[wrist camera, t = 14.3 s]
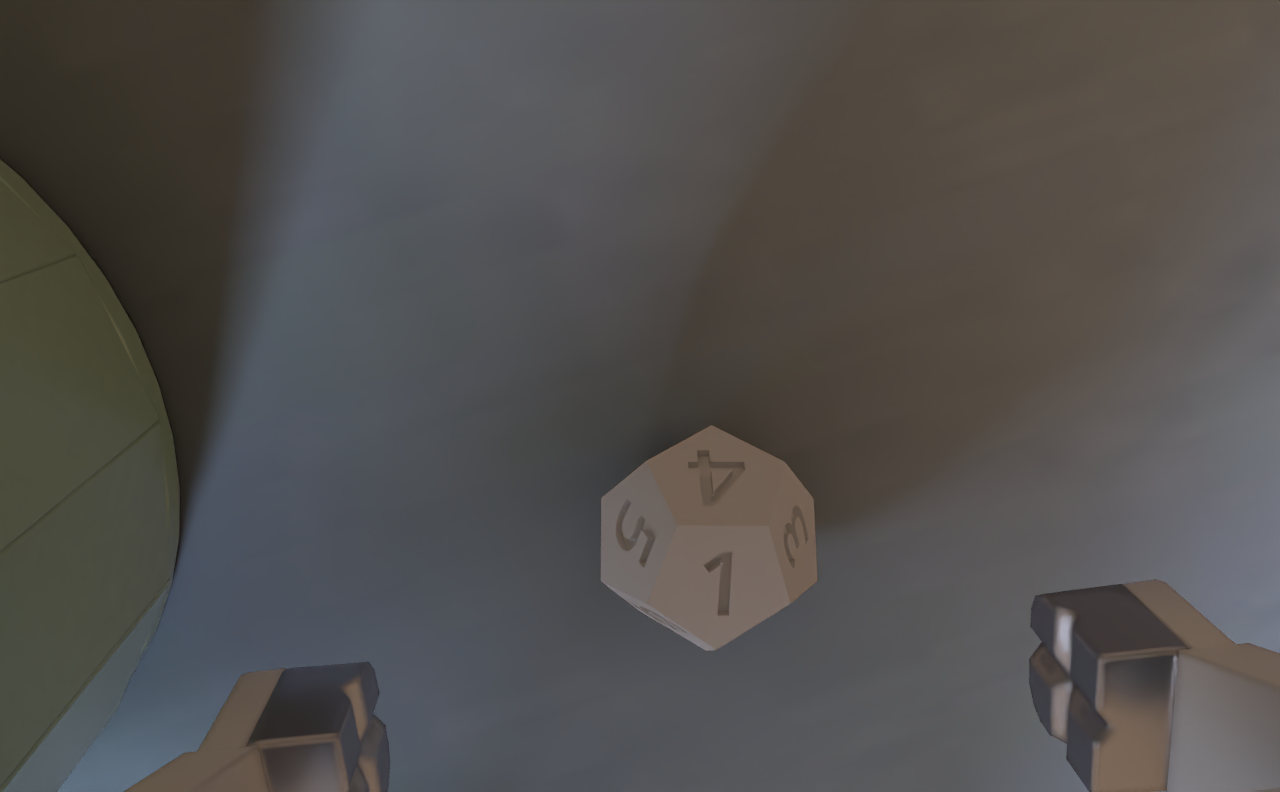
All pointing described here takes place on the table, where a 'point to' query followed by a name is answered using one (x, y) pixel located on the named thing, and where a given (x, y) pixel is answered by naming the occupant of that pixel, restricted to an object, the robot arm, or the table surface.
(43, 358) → the green round box
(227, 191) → the table surface
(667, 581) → the game die
